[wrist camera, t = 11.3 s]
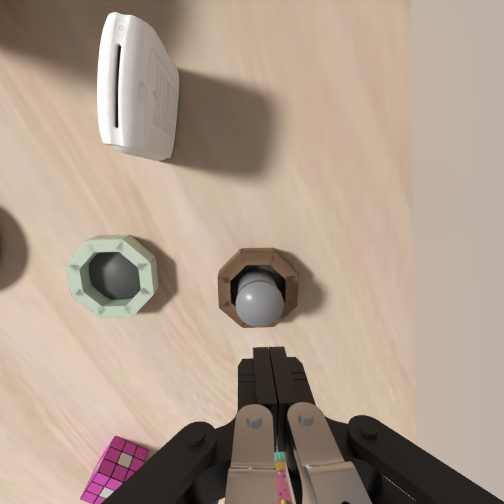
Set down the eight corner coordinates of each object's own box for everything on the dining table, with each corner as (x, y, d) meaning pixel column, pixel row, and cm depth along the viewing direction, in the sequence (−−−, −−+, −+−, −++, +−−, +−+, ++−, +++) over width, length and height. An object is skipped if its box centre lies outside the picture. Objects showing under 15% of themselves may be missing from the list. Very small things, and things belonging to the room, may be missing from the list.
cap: (235, 266, 38) (235, 283, 32) (277, 265, 38) (283, 282, 32) (236, 305, 39) (236, 327, 33) (276, 303, 39) (283, 326, 33)
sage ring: (73, 236, 36) (61, 240, 34) (153, 234, 37) (147, 238, 34) (85, 309, 39) (75, 318, 36) (161, 307, 39) (155, 316, 37)
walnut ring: (218, 248, 38) (216, 253, 35) (295, 247, 38) (299, 252, 35) (221, 319, 40) (219, 328, 38) (293, 317, 40) (296, 326, 38)
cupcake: (245, 463, 47) (247, 558, 35) (278, 428, 45) (292, 515, 34) (286, 486, 48) (300, 584, 37) (320, 453, 47) (346, 545, 35)
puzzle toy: (115, 435, 44) (97, 471, 39) (148, 449, 45) (136, 487, 40) (98, 460, 46) (79, 499, 40) (132, 474, 46) (117, 514, 41)
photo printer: (144, 60, 32) (86, -10, 20) (183, 67, 32) (150, 4, 20) (137, 157, 34) (83, 148, 22) (174, 163, 35) (140, 157, 23)
